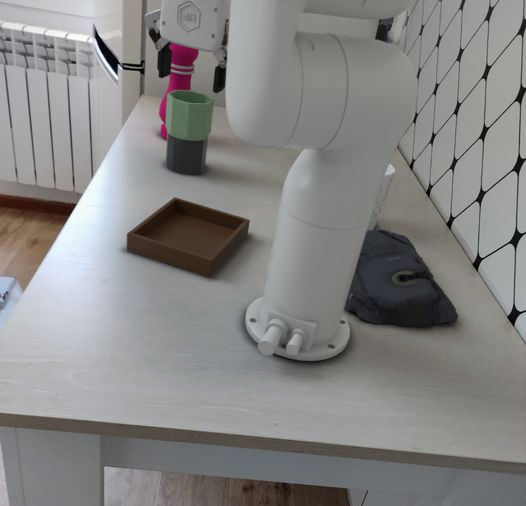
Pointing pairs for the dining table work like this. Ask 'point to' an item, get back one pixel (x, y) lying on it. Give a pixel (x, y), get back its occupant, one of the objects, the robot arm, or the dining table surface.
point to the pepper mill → (178, 76)
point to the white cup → (381, 196)
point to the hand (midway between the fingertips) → (191, 83)
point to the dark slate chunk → (396, 284)
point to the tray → (188, 236)
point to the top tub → (189, 115)
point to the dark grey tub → (186, 155)
